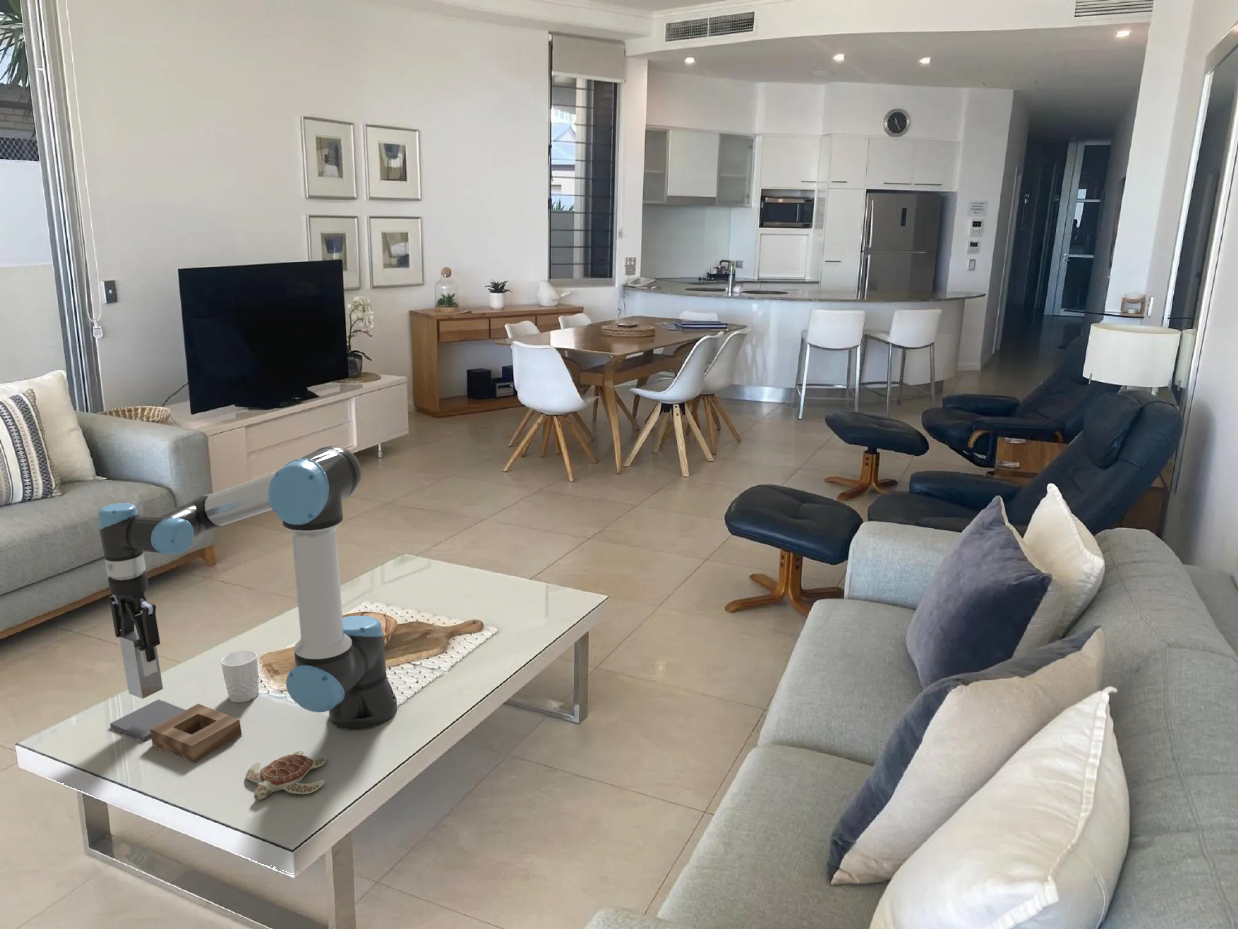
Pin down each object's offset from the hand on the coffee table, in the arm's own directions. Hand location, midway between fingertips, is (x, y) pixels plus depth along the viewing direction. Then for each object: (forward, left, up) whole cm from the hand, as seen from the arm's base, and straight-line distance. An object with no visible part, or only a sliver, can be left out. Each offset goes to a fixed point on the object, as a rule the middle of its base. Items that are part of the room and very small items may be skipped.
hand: (142, 670), depth 208 cm
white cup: (-9, -18, -13) cm, 24 cm away
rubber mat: (0, 0, -13) cm, 13 cm away
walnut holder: (-16, 0, -13) cm, 21 cm away
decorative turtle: (-45, +1, -14) cm, 47 cm away
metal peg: (0, 0, -5) cm, 5 cm away
